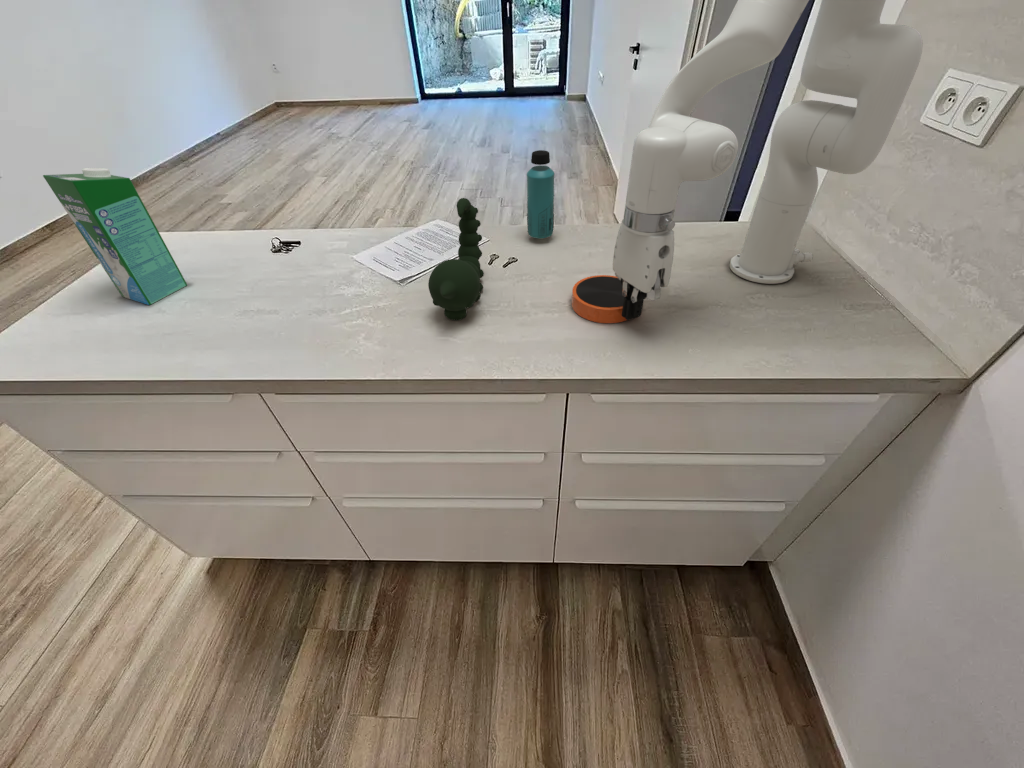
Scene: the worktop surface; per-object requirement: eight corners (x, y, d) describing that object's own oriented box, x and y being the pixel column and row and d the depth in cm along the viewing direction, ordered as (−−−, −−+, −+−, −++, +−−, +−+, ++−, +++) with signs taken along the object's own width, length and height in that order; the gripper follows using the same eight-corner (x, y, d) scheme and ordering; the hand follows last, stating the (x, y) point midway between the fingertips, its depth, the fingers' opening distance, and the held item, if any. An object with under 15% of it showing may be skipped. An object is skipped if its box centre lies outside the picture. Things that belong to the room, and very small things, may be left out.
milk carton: (188, 285, 104) (123, 164, 87) (149, 305, 98) (71, 180, 81) (161, 277, 107) (93, 160, 90) (121, 297, 101) (41, 174, 84)
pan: (595, 330, 87) (596, 316, 84) (559, 298, 95) (559, 284, 93) (681, 302, 93) (684, 288, 91) (640, 274, 102) (642, 261, 100)
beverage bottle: (551, 245, 114) (554, 156, 100) (524, 243, 115) (523, 155, 101) (555, 234, 118) (558, 147, 105) (529, 232, 119) (528, 147, 106)
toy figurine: (453, 279, 106) (422, 335, 86) (445, 190, 95) (407, 231, 75) (495, 281, 105) (473, 338, 85) (491, 191, 93) (465, 233, 73)
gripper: (701, 229, 70) (675, 330, 83) (636, 198, 81) (621, 293, 93) (662, 239, 68) (641, 343, 80) (600, 206, 78) (590, 303, 90)
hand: (631, 316), depth 86 cm, fingers closed
